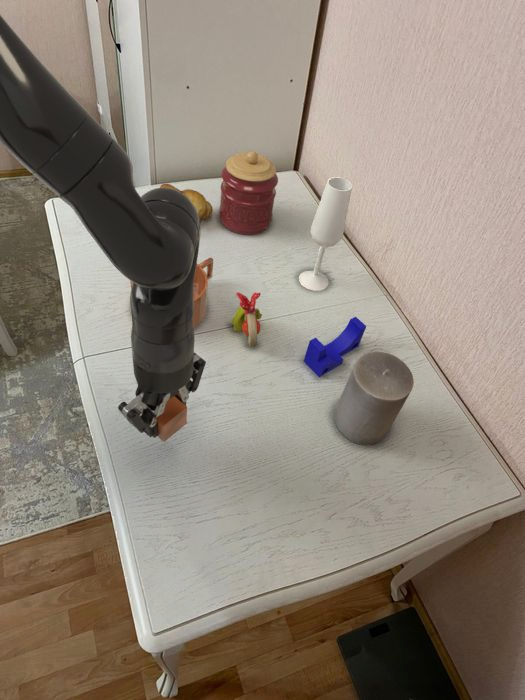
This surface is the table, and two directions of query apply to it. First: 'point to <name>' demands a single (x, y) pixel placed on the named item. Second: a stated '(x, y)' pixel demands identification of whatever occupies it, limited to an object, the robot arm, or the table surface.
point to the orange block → (172, 418)
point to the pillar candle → (373, 397)
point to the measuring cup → (200, 289)
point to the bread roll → (195, 201)
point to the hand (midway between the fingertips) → (164, 422)
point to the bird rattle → (248, 318)
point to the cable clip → (334, 348)
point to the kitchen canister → (247, 193)
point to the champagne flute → (328, 227)
